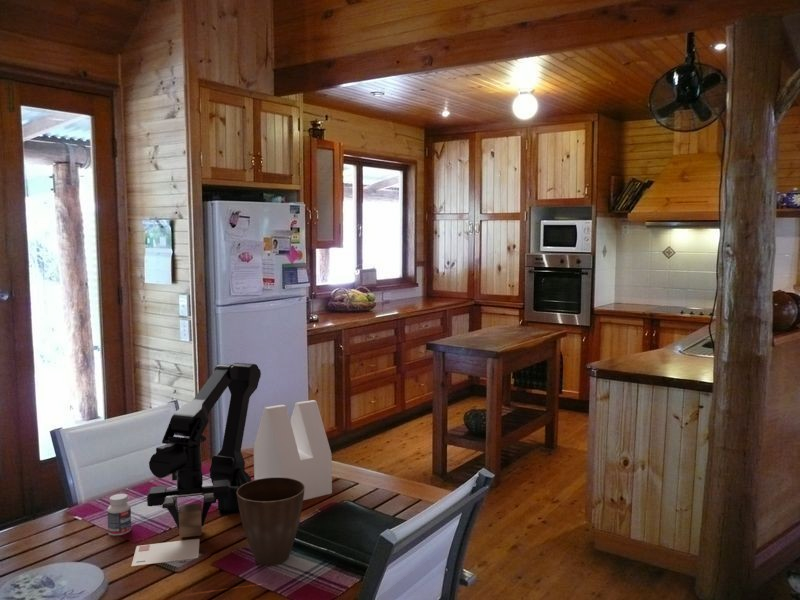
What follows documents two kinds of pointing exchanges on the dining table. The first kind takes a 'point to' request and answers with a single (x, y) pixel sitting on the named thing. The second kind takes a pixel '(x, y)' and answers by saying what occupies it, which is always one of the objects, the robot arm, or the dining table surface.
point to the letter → (166, 552)
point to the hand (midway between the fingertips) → (190, 527)
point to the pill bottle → (119, 515)
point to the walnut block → (190, 520)
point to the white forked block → (294, 448)
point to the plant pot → (271, 517)
